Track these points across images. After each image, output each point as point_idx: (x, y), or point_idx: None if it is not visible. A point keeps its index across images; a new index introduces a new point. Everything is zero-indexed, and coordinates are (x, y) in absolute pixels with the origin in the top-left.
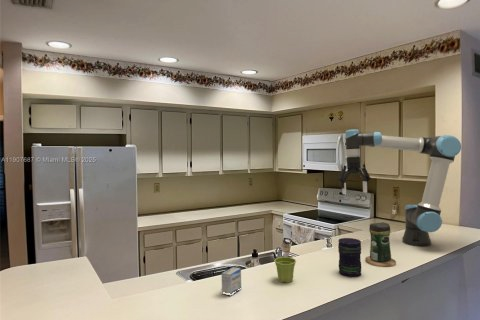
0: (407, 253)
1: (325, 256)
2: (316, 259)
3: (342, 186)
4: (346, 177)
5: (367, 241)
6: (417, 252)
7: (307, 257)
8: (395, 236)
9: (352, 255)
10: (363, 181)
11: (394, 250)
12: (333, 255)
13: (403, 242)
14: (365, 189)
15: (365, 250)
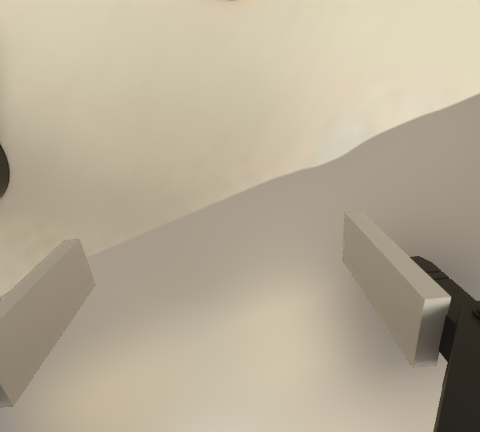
0: (57, 25)
1: (402, 63)
2: (457, 32)
3: (440, 273)
4: (478, 411)
5: (143, 217)
6: (7, 29)
7: (474, 67)
8: (5, 257)
9: None
10: (4, 387)
11: (92, 79)
12: (365, 69)
13: (8, 171)
14: (62, 266)
15: (208, 106)
